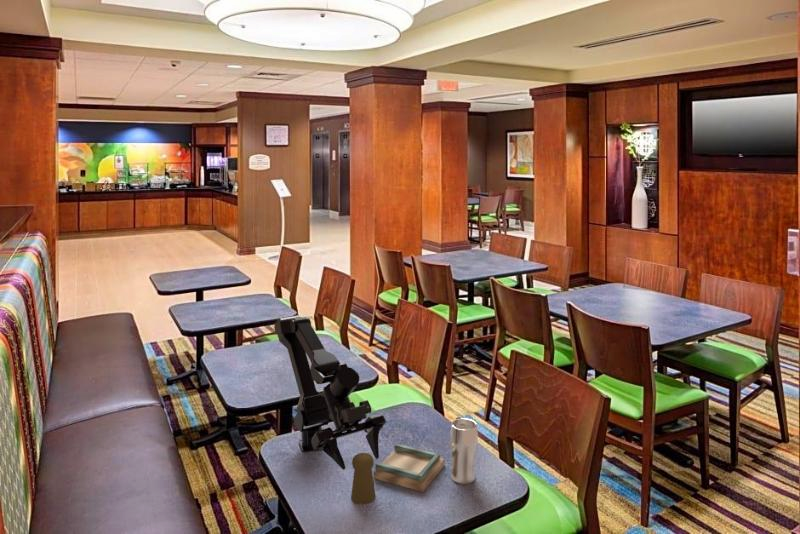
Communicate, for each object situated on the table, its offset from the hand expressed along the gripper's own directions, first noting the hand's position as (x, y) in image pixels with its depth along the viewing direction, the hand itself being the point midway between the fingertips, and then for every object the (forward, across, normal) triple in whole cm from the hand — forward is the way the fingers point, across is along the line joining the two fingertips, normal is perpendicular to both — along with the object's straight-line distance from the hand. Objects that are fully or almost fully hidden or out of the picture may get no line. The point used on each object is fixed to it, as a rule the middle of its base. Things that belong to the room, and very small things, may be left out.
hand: (361, 463), depth 144 cm
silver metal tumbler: (+11, +26, +1) cm, 28 cm away
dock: (+4, +16, +8) cm, 18 cm away
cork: (+7, 0, +6) cm, 9 cm away
